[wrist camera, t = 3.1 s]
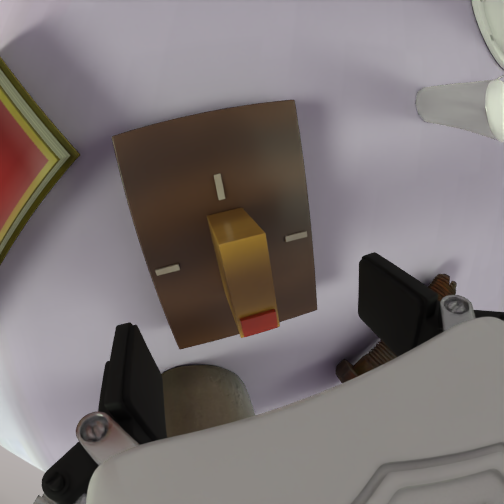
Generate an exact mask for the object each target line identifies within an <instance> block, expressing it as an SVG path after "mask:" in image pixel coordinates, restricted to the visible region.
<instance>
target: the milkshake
mask: <svg viewBox="0 0 504 504" xmlns="http://www.w3.org/2000/svg"><path fill="white" fill-rule="evenodd" d="M502 77H504V75H502V76H501V77H499V78H497V79H496V80H485V81H475V82H466V83H455V84H446V85H438V86H431V87H424V88H422V89H421V90H420V91H419V92H418V93H417V97H416V107H417V111H418V114H419V115H420V117H421V118H422V119H423V120H424V121H425V122H428V123H433V124H439V125H444V126H449V127H453V128H458V129H462V130H466V131H469V132H472V133H475V134H479V135H482V136H485V137H488V138H491V139H494V140H497V141H500V142H504V83H503V82H502V81H500V80H498V79H500V78H502Z"/></svg>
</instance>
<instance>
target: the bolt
mask: <svg viewBox="0 0 504 504" xmlns="http://www.w3.org/2000/svg"><path fill="white" fill-rule="evenodd" d="M449 281H450V276H448V275H447V274H438V275H437V276H436V277H435V279H433V281H432V282H431V284H430V286H428V288H430V289H431V290H433V291H434V292H436V293H437V294H438V301H440V302H441V300H442V298H444V297H445V296H448V295H455V294H456V285H457V284H456V282H455V281H452V282H451V283H450V285H449ZM378 343H379V344H376V347H374V349H371V350H372V352H371V351H369V354H366V355H365V356H363V357H362V358H361V359H360V360H359V361H358V362H357V363H356V364H355V365H354V366H353V365H352V364H350V363H349V362H348V361H347V360H345V359H344V360H343V361H342V362H341V363H340V364H338V365H337V367H336V375H337V377H338V378H339V379H340V381H341V382H342V383H344V382H347V381H349V380H351V379H353V378H355V377H358V376H360V375H362V374H364V373H366V372H368V371H371V370H373V369H375V368H377V367H379V366H381V365H383V364H385V363H387V362H389V361H391V360H393V359H395V358H397V357H398V356H397V355H396V354H395V353H394V352H393V351H392V350H391V349H390V348H389V347H388V346H387V345H386V344H385V343H384V342H383V341H382V340H381V342H378Z"/></svg>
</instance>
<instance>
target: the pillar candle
mask: <svg viewBox="0 0 504 504" xmlns="http://www.w3.org/2000/svg"><path fill="white" fill-rule="evenodd" d="M161 375H162V379H163V393H164V408H165V421H166V432H167V438H169V437H174V436H178V435H183V434H187V433H192V432H196V431H200V430H204V429H208V428H212V427H216V426H220V425H223V424H227V423H231V422H235V421H238V420H242V419H245V418H249V417H252V416H255V413H254V410H253V407H252V404H251V401H250V398H249V394H248V392H247V390H246V388H245V385H244V383H243V382H242V381H241V380H240V378H239V377H238V376H237V375H236V374H234V373H232V372H230V371H229V370H226V369H222V368H220V367H217V366H208V365H191V366H182V367H177V368H173V369H172V370H168V371H166V372H164V373H163V374H161Z"/></svg>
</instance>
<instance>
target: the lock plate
mask: <svg viewBox="0 0 504 504" xmlns="http://www.w3.org/2000/svg"><path fill="white" fill-rule="evenodd" d="M112 141H113V146H114V150H115V155H116V159H117V163H118V167H119V171H120V175H121V179H122V183H123V187H124V191H125V195H126V198H127V202H128V205H129V209H130V212H131V216H132V219H133V223H134V226H135V229H136V233H137V236H138V239H139V242H140V245H141V248H142V251H143V255H144V258H145V261H146V264H147V266H148V269H149V272H150V275H151V278H152V281H153V284H154V286H155V289H156V292H157V294H158V297H159V300H160V302H161V305H162V308H163V310H164V313H165V315H166V318H167V321H168V323H169V326H170V328H171V330H172V333H173V335H174V338H175V340H176V342H177V345H178V347H179V349H184V348H188V347H192V346H196V345H200V344H204V343H207V342H211V341H215V340H219V339H223V338H226V337H230V336H234V335H237V334H239V331H238V328H237V325H236V323H235V320H234V317H233V314H232V311H231V308H230V306H229V303H228V300H227V297H226V294H225V291H224V287H223V283H222V279H221V274H220V270H219V266H218V262H217V258H216V254H215V250H214V245H213V241H212V237H211V233H210V228H209V224H208V220H207V216H209V215H213V214H217V213H221V212H225V211H229V210H233V209H237V208H243V209H244V210H245V211H246V213H247V214H248V215H249V216H250V217H251V218H252V219H253V220H254V221H255V222H256V223H257V224H258V226H259V227H260V228H261V229H262V230H263V231H264V232H265V233H266V239H267V245H268V252H269V258H270V264H271V271H272V277H273V284H274V291H275V297H276V304H277V311H278V317H279V322H281V321H284V320H287V319H291V318H294V317H297V316H300V315H303V314H306V313H309V312H312V311H315V310H317V298H316V283H315V268H314V256H313V244H312V233H311V222H310V212H309V203H308V194H307V185H306V177H305V169H304V161H303V154H302V146H301V139H300V132H299V126H298V119H297V113H296V107H295V101H294V100H284V101H274V102H266V103H258V104H251V105H244V106H237V107H231V108H225V109H220V110H214V111H209V112H204V113H199V114H194V115H189V116H185V117H180V118H176V119H172V120H168V121H164V122H160V123H156V124H152V125H148V126H145V127H141V128H138V129H134V130H131V131H127V132H124V133H121V134H118V135H115V136H112Z"/></svg>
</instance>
